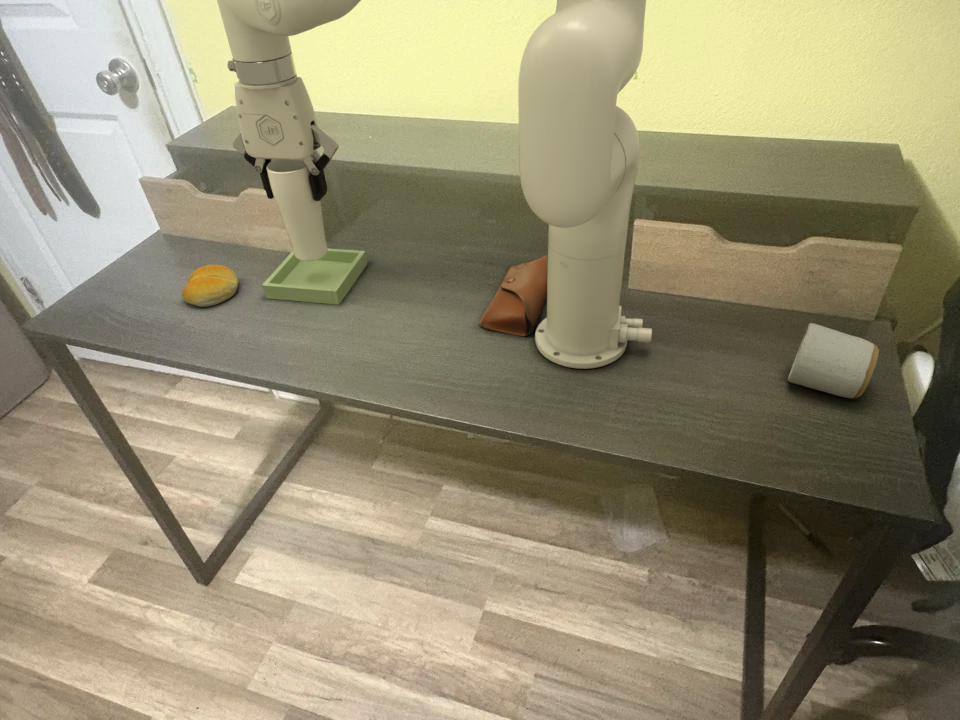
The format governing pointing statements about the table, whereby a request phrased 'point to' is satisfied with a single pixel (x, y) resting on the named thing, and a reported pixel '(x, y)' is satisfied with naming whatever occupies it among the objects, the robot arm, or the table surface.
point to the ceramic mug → (834, 362)
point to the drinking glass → (298, 208)
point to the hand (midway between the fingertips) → (297, 195)
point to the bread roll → (210, 285)
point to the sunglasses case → (518, 299)
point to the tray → (316, 277)
